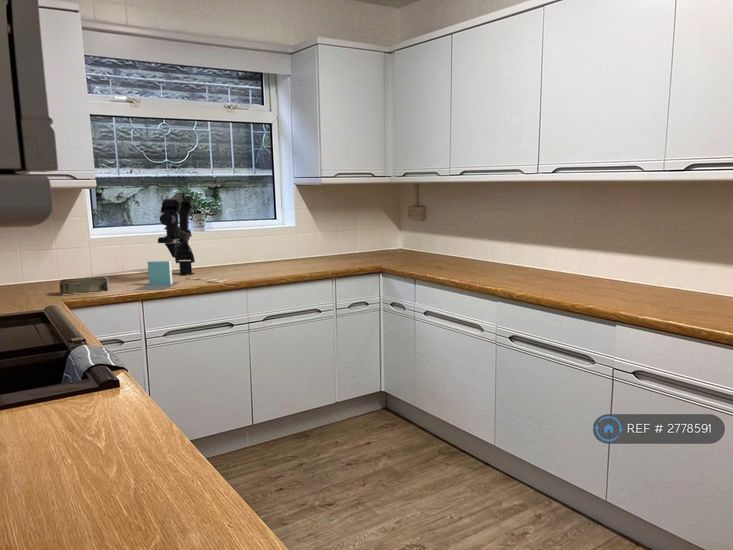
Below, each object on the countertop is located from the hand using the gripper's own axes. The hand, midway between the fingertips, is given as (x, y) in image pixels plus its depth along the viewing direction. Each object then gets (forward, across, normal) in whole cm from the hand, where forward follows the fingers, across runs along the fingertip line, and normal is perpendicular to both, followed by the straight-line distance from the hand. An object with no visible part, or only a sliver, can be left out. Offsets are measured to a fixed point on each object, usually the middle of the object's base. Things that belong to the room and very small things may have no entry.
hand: (174, 257), depth 285 cm
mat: (+12, -17, 0) cm, 21 cm away
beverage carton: (+13, -32, +26) cm, 43 cm away
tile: (+12, -13, 0) cm, 17 cm away
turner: (+12, +1, -15) cm, 19 cm away
